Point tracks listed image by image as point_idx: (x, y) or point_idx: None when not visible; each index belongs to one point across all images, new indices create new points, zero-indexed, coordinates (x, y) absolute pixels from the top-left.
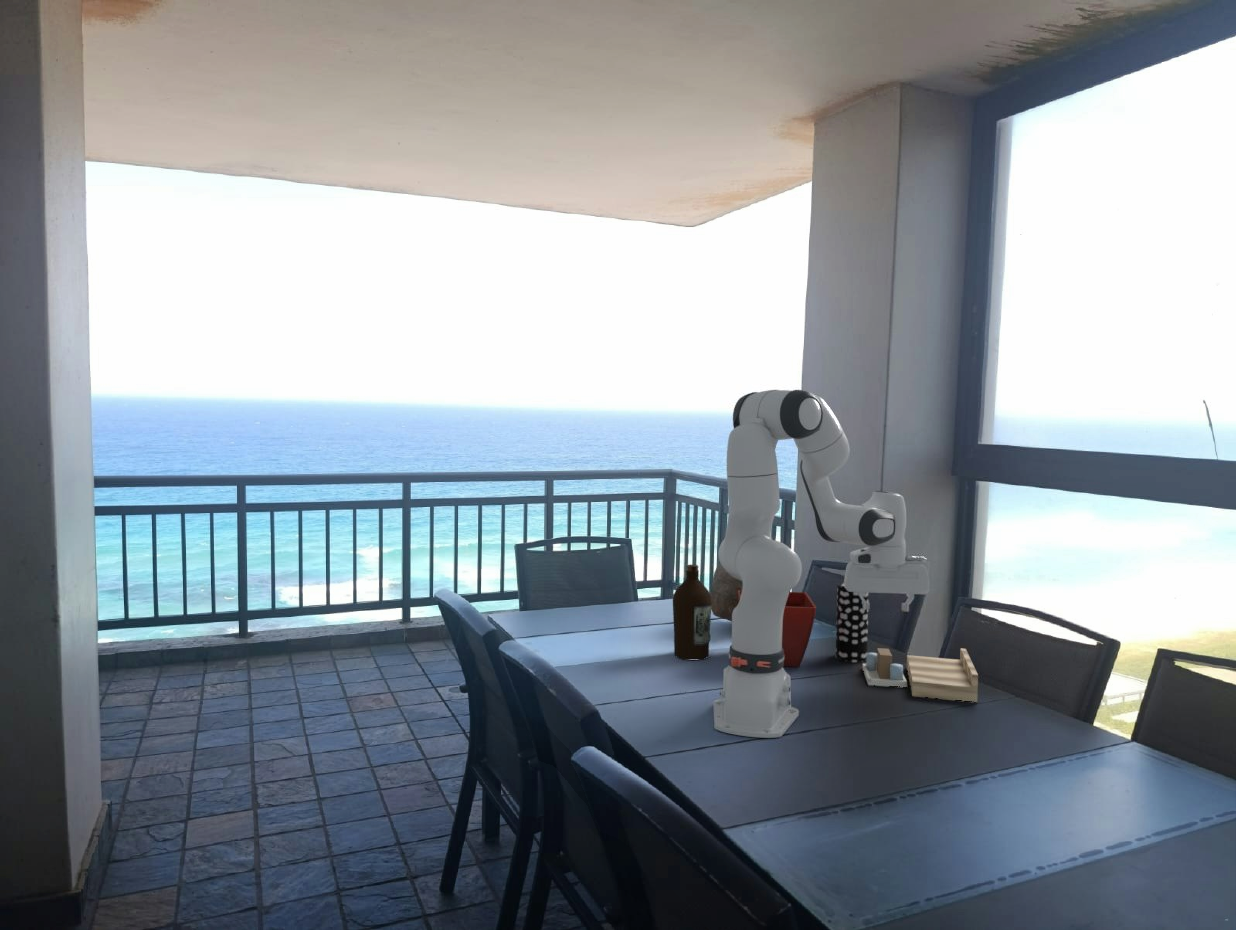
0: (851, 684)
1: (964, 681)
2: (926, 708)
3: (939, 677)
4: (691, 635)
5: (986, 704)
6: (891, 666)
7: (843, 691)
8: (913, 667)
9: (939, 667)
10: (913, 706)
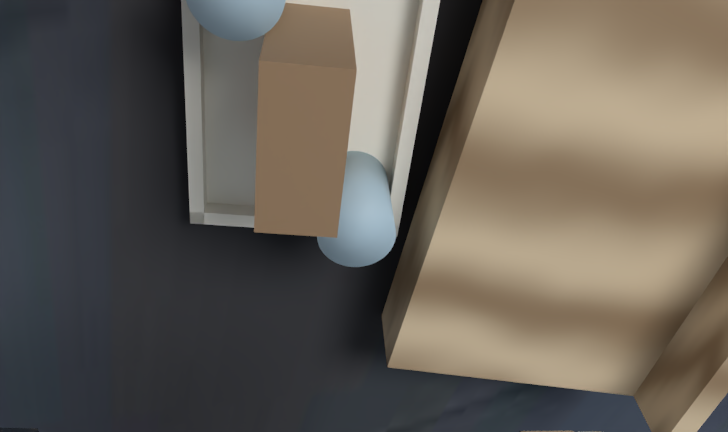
0: (103, 207)
1: (648, 338)
2: (394, 413)
3: (553, 303)
4: None
5: None
6: (321, 246)
7: (65, 300)
8: (482, 160)
9: (655, 142)
10: (350, 403)
